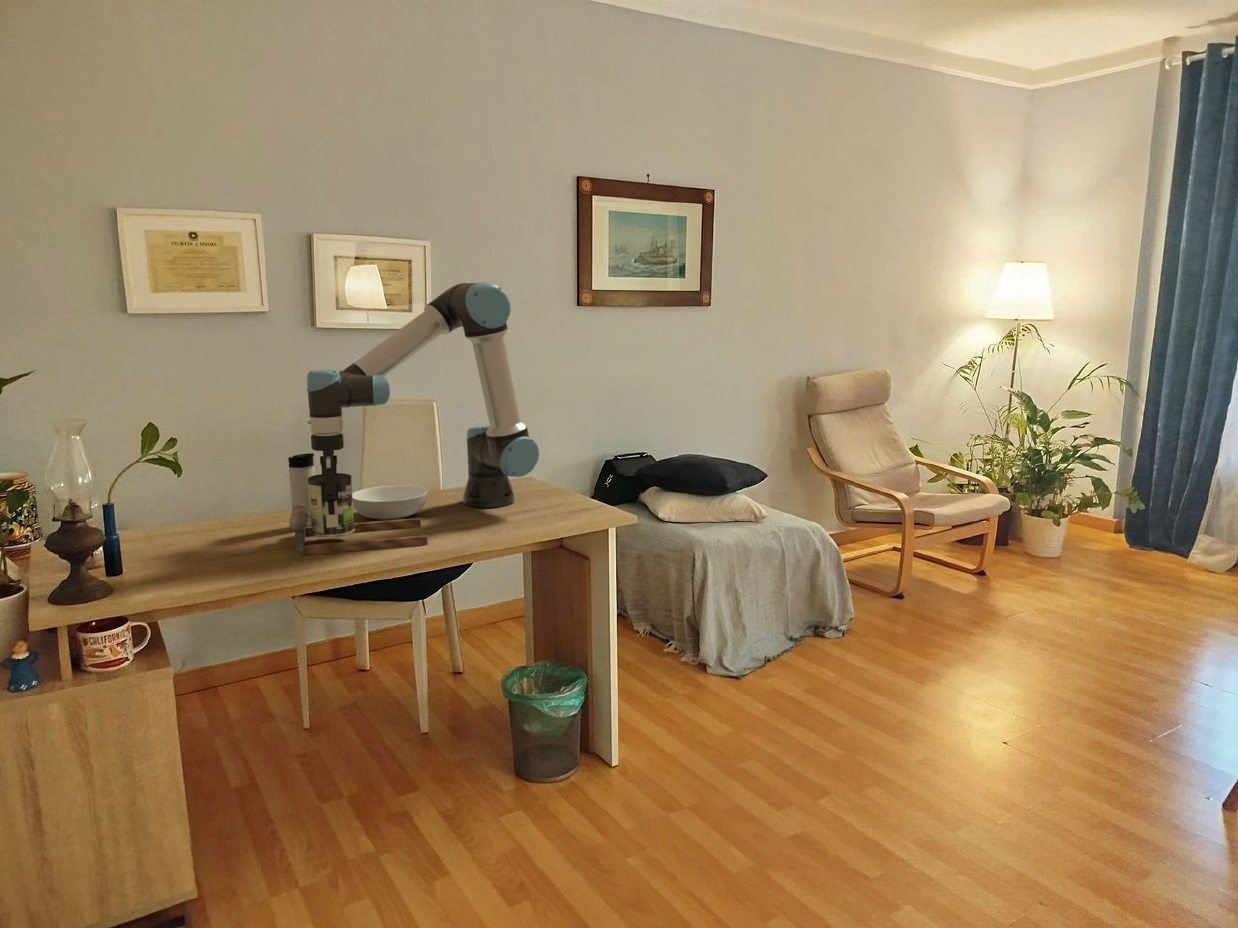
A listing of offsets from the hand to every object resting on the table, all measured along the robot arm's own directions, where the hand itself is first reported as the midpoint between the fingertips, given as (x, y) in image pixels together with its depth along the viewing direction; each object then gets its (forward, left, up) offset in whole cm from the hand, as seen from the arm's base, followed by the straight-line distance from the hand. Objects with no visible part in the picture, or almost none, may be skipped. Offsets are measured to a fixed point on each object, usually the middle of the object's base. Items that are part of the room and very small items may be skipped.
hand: (332, 521), depth 212 cm
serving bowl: (-15, -22, -6) cm, 27 cm away
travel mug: (+7, -17, -6) cm, 19 cm away
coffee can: (0, 0, -3) cm, 3 cm away
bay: (-7, 0, -5) cm, 9 cm away
